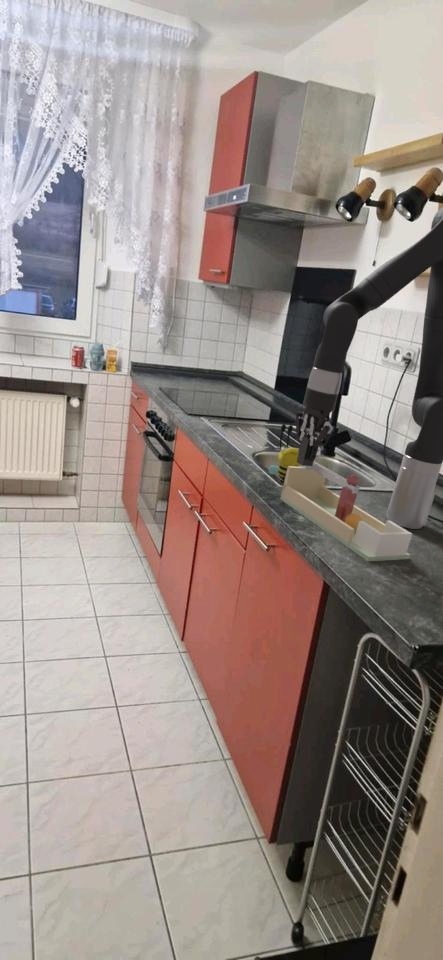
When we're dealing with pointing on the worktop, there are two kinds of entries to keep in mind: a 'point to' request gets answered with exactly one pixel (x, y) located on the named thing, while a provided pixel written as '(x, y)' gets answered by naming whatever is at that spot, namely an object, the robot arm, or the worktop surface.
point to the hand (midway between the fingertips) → (305, 457)
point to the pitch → (320, 508)
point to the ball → (353, 520)
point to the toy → (285, 456)
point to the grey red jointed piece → (347, 484)
